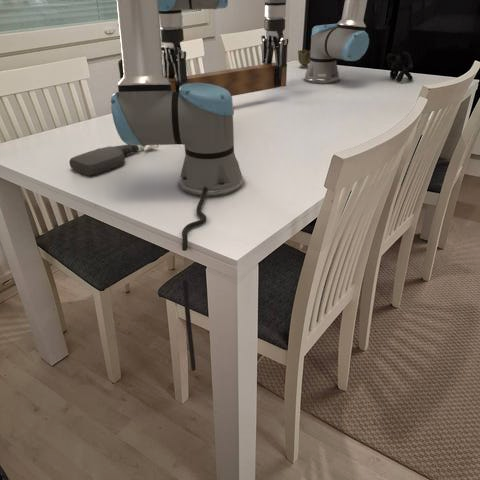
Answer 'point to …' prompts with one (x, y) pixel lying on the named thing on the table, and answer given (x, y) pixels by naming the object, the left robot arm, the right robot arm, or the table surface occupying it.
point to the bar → (239, 79)
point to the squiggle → (399, 66)
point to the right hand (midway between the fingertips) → (273, 84)
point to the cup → (304, 58)
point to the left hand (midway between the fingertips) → (177, 102)
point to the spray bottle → (104, 158)
